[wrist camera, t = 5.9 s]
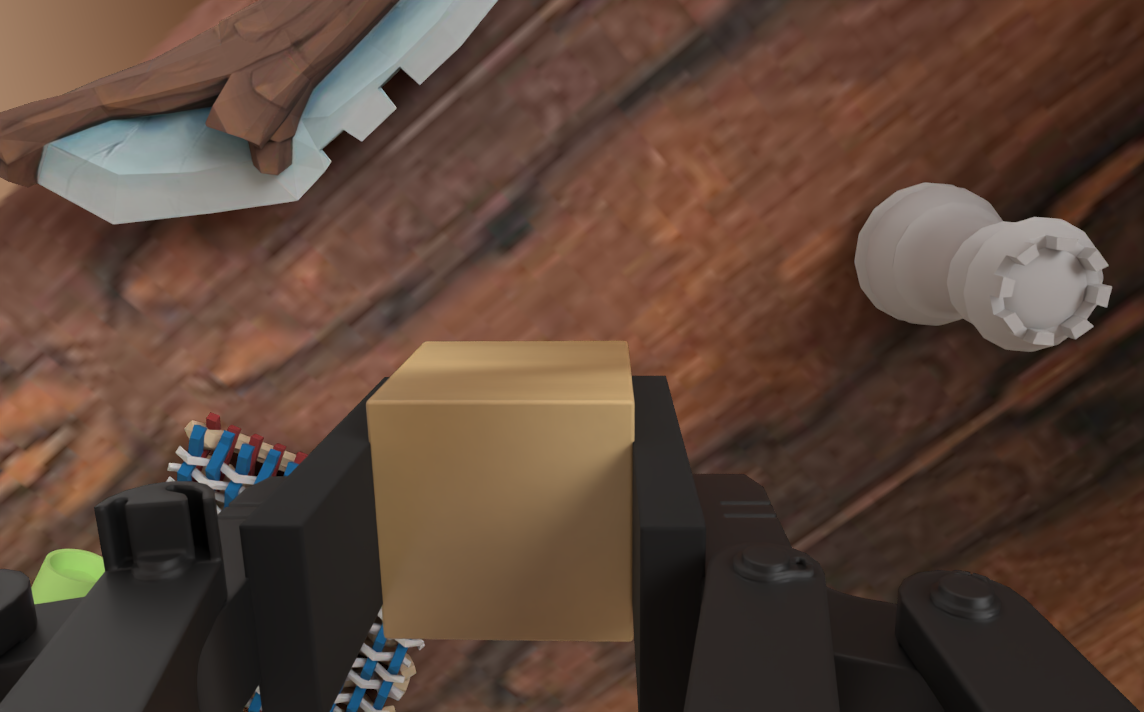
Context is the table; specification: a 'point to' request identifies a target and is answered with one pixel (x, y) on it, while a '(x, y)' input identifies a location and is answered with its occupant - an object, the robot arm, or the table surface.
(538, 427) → the block
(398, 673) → the woven mat
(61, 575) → the gearbox
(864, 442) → the table surface
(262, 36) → the decorative knife
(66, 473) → the table surface
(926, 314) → the rook chess piece
